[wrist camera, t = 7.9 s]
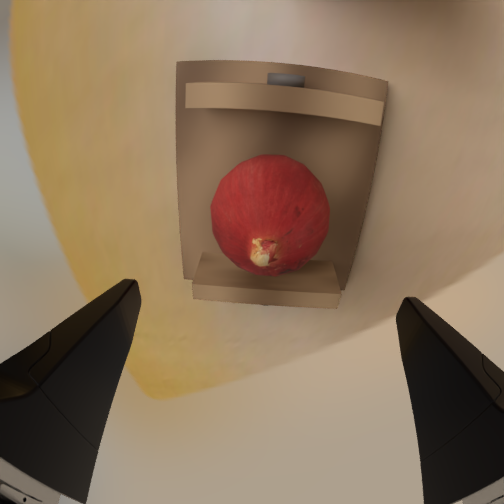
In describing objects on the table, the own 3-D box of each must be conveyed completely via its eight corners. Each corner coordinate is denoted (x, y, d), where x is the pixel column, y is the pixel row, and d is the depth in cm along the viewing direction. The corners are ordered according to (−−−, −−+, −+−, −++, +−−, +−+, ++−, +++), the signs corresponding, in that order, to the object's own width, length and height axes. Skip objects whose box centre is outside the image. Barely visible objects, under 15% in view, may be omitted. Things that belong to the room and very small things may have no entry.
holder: (382, 81, 15) (414, 84, 11) (342, 282, 23) (353, 323, 19) (181, 62, 15) (155, 58, 11) (186, 271, 23) (172, 311, 19)
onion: (333, 215, 18) (356, 301, 12) (248, 241, 20) (228, 331, 13) (302, 127, 16) (315, 166, 9) (210, 162, 17) (160, 222, 11)
